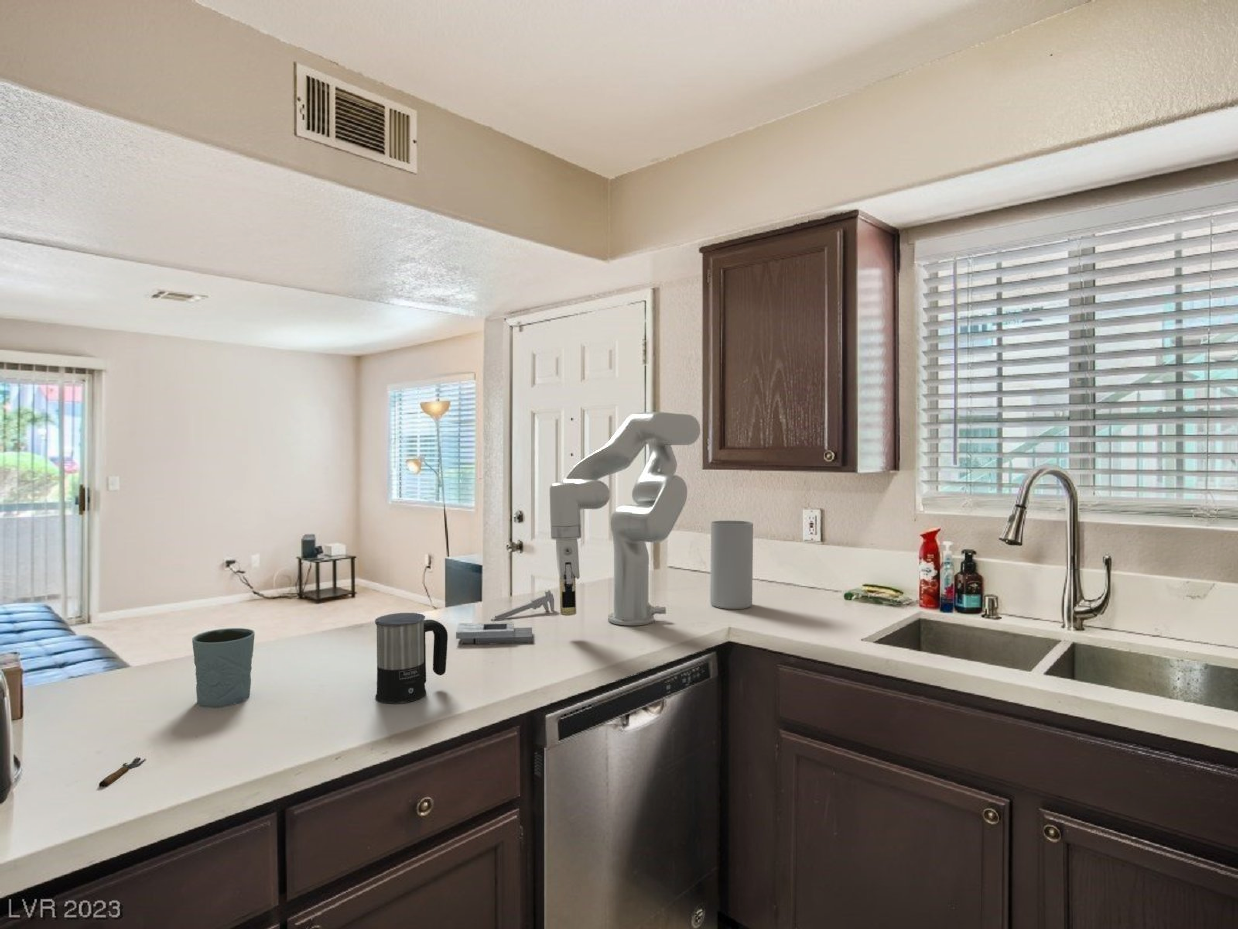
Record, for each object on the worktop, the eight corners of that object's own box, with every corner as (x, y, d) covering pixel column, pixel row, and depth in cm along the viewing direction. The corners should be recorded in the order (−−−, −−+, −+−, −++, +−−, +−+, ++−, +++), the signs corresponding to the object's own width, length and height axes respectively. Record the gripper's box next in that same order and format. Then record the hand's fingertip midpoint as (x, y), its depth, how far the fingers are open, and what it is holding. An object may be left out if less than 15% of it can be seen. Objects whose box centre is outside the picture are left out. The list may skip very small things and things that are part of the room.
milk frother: (397, 708, 128) (397, 626, 128) (341, 692, 136) (341, 614, 136) (455, 686, 140) (455, 611, 140) (400, 672, 148) (400, 601, 148)
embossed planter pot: (241, 686, 139) (240, 625, 139) (264, 698, 133) (264, 634, 132) (183, 700, 131) (183, 635, 131) (205, 713, 125) (205, 645, 125)
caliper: (552, 610, 208) (552, 589, 208) (554, 611, 207) (554, 589, 207) (490, 621, 194) (490, 598, 194) (492, 622, 194) (492, 599, 193)
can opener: (105, 789, 97) (106, 781, 97) (89, 789, 98) (89, 780, 98) (151, 761, 106) (151, 753, 106) (136, 761, 107) (136, 753, 107)
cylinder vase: (755, 610, 209) (756, 524, 208) (712, 609, 209) (713, 524, 208) (748, 601, 221) (749, 520, 221) (708, 600, 221) (708, 520, 221)
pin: (575, 611, 180) (574, 571, 180) (577, 615, 176) (575, 575, 176) (559, 612, 180) (558, 572, 179) (560, 616, 176) (559, 576, 175)
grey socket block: (531, 633, 181) (531, 621, 181) (532, 642, 172) (532, 630, 172) (459, 635, 178) (459, 623, 178) (456, 645, 169) (456, 632, 169)
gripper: (584, 536, 169) (586, 612, 170) (578, 526, 186) (580, 596, 187) (552, 537, 168) (554, 614, 169) (549, 528, 185) (551, 598, 186)
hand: (568, 604), depth 178 cm, fingers closed on pin, 4 cm apart
